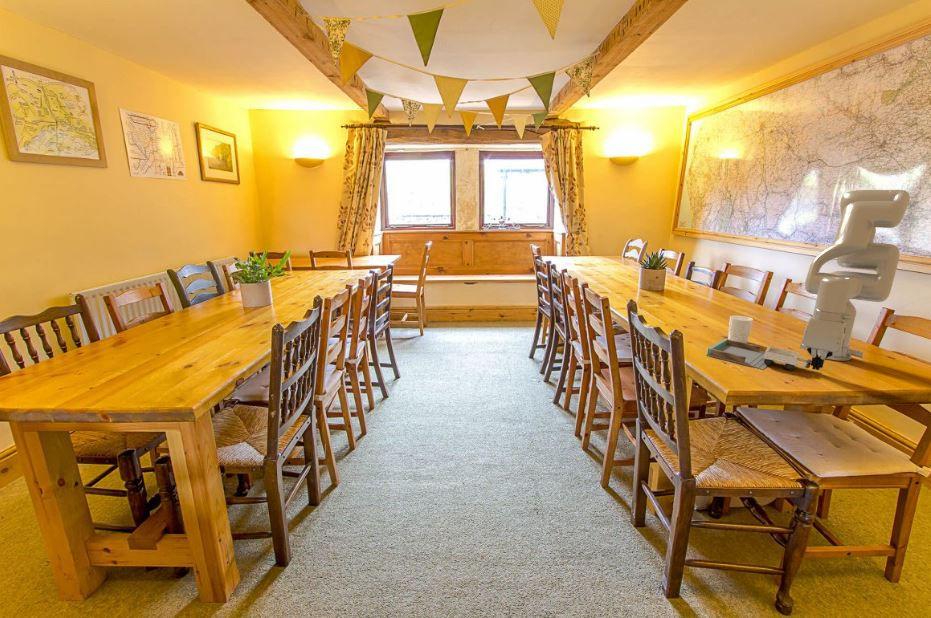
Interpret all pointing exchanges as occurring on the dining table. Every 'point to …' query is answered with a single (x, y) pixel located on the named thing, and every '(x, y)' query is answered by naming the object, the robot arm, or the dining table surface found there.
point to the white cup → (739, 328)
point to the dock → (738, 353)
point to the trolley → (784, 358)
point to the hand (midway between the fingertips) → (816, 368)
